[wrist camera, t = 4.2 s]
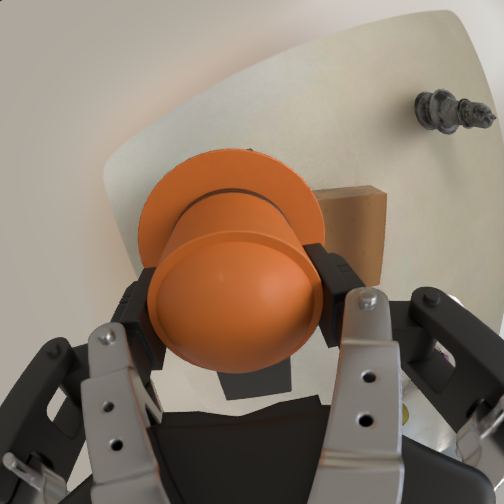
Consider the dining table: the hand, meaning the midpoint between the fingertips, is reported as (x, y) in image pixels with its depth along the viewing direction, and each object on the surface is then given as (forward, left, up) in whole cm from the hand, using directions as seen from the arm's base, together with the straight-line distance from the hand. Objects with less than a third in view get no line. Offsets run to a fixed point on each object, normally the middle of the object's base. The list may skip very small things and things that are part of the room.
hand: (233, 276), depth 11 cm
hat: (0, 0, -3) cm, 3 cm away
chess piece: (+27, +8, -21) cm, 35 cm away
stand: (+12, -8, -21) cm, 25 cm away
